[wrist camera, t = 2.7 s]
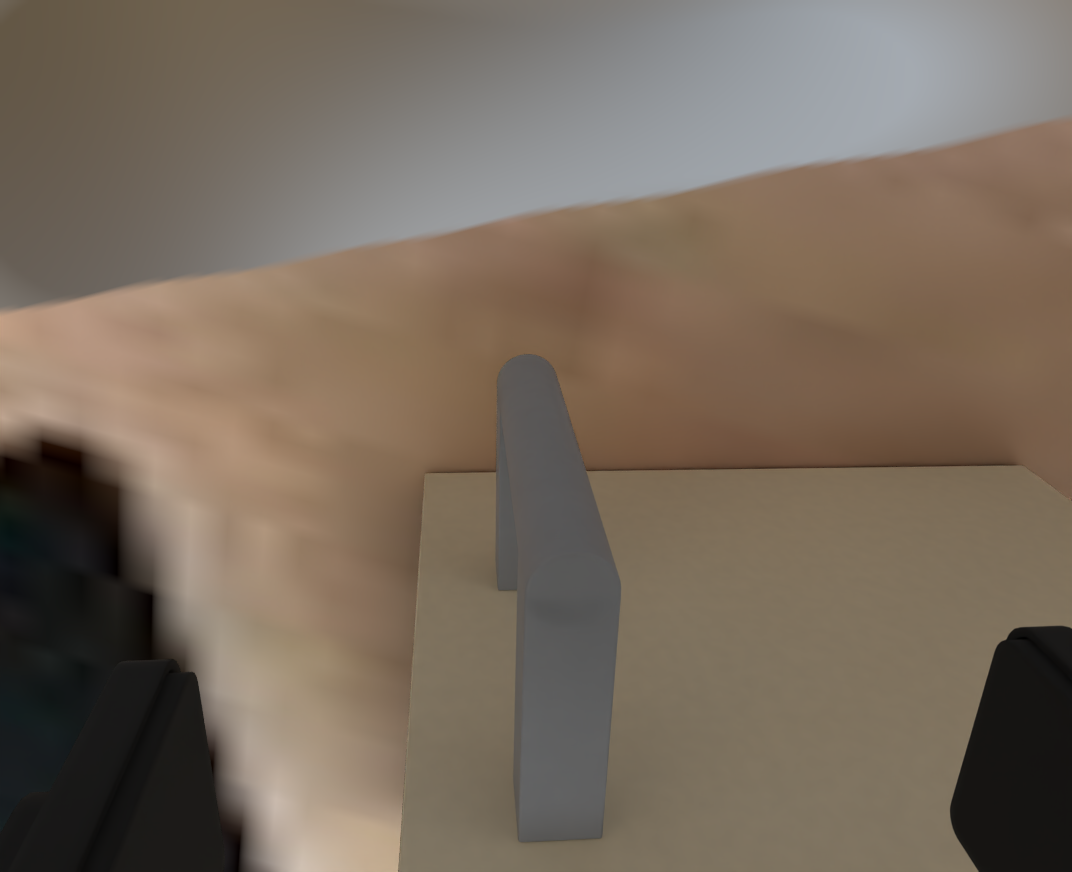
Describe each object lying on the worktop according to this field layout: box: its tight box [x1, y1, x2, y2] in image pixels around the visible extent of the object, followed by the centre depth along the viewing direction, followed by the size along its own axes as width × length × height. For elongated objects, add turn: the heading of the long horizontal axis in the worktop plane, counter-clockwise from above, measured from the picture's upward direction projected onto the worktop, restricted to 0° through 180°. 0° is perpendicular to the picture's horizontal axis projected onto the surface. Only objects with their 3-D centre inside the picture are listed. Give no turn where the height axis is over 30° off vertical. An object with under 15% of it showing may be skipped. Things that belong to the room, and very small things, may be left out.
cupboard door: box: [398, 354, 1072, 872], centre depth 21 cm, size 7×22×22 cm, turn 88°
